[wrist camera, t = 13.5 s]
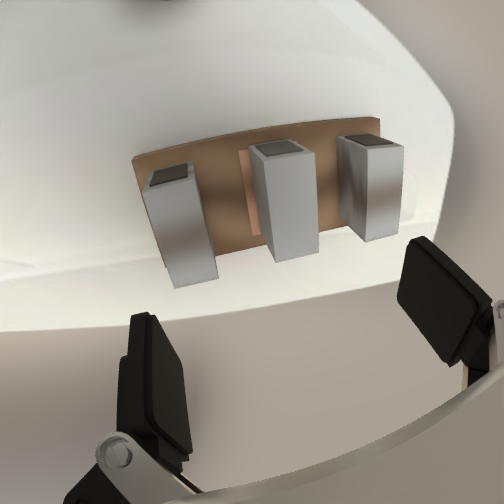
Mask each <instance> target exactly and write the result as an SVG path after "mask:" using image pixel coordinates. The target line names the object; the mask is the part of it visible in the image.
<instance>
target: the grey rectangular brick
mask: <svg viewBox="0 0 504 504" xmlns="http://www.w3.org/2000/svg"><path fill="white" fill-rule="evenodd" d="M248 151H249V158H250V165H251V171H252V178H253V185H254V192H255V199H256V205H257V212H258V219H259V226H260V232H261V234H262V236H263V238H264V240H265V242H266V244H267V246H268V248H269V250H270V252H271V254H272V256H273V258H274V260H275V262H276V263H277V262H281V261H285V260H290V259H294V258H298V257H302V256H306V255H310V254H314V253H318V252H319V234H318V205H317V184H316V167H315V153H314V152H312V151H310V150H308V149H307V148H305V147H303V146H301V145H299V144H298V143H296V142H294V141H292V140H290V139H287V140H280V141H273V142H267V143H261V144H255V145H249V146H248Z"/></svg>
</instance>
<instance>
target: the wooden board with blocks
mask: <svg viewBox="0 0 504 504" xmlns="http://www.w3.org/2000/svg"><path fill="white" fill-rule="evenodd" d="M287 139H290V140H292V141H294V142H296V143H298V144H299V145H301V146H303V147H305V148H307V149H308V150H310V151H312V152H314V153H315V167H316V184H317V205H318V232H322V231H326V230H331V229H335V228H340V227H344V226H349V227H350V228H351V229H352V230H353V231H354V232H355V233H356V234H357V235H358V236H359V237H360V238H361V239H362V240H363V241H364V242H369V241H373V240H376V239H380V238H384V237H388V236H392V235H395V234H398V228H399V218H400V208H401V196H402V182H403V161H404V146H402V145H399V144H397V143H394V142H392V141H389V140H386V139H384V138H381V137H380V119H378V118H374V117H360V118H345V119H332V120H321V121H312V122H303V123H295V124H287V125H280V126H273V127H266V128H260V129H254V130H248V131H242V132H237V133H231V134H226V135H221V136H216V137H211V138H207V139H202V140H197V141H193V142H189V143H185V144H180V145H176V146H172V147H168V148H165V149H161V150H157V151H153V152H150V153H146V154H143V155H139V156H136V157H134V158H133V159H132V164H133V168H134V171H135V175H136V178H137V182H138V185H139V189H140V192H141V195H142V199H143V202H144V205H145V208H146V211H147V214H148V218H149V221H150V224H151V227H152V230H153V233H154V236H155V239H156V242H157V244H158V247H159V250H160V253H161V256H162V259H163V261H164V264H165V267H166V268H167V270H168V273H169V275H170V278H171V281H172V283H173V286H174V289H175V288H180V287H184V286H189V285H193V284H197V283H202V282H206V281H210V280H214V279H219V276H218V271H217V266H216V260H215V256H219V255H223V254H227V253H232V252H236V251H240V250H244V249H249V248H253V247H257V246H262V245H266V242H265V240H264V238H263V236H262V234H261V232H260V226H259V219H258V212H257V205H256V199H255V192H254V185H253V178H252V171H251V165H250V158H249V151H248V146H249V145H255V144H261V143H267V142H273V141H280V140H287Z"/></svg>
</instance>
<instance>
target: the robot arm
mask: <svg viewBox="0 0 504 504" xmlns="http://www.w3.org/2000/svg"><path fill="white" fill-rule="evenodd" d="M397 301H398V303H399V304H400V306H401V307H402V308H403V309H404V311H405V312H406V313H407V314H408V316H409V317H410V318H411V320H412V321H413V322H414V324H415V325H416V326H417V328H419V330H420V332H421V333H422V334H423V335H424V337H425V338H426V339H427V341H428V342H429V343H430V345H431V346H432V348H433V349H434V350H435V352H436V353H437V354H438V356H439V357H440V359H441V360H442V361H443V362H446V363H447V364H448V366H449V367H452V366H453V365H455V364H456V363H458V362H459V361H460V359H461V360H462V362H463V381H462V392H461V393H459V394H458V395H456V396H455V397H453V398H452V399H450V400H449V401H447V402H445V403H444V404H442V405H441V406H439V407H438V408H436V409H434V410H433V411H431V412H429V413H428V414H426V415H424V416H422V417H421V418H419V419H417V420H415V421H413V422H412V423H410V424H408V425H406V426H404V427H402V428H400V429H399V430H397V431H395V432H393V433H391V434H389V435H387V436H385V437H382V438H380V439H378V440H376V441H374V442H372V443H369V444H367V445H365V446H363V447H360V448H358V449H356V450H354V451H351V452H348V453H346V454H343V455H341V456H338V457H336V458H333V459H331V460H328V461H325V462H322V463H319V464H316V465H313V466H310V467H307V468H304V469H301V470H298V471H295V472H291V473H287V474H284V475H280V476H276V477H273V478H269V479H265V480H262V481H257V482H253V483H249V484H245V485H239V486H235V487H229V488H224V489H220V490H214V491H209V492H205V491H203V490H202V489H201V488H200V487H198V486H197V485H195V483H193V482H192V481H191V480H189V479H188V478H187V477H186V476H185V475H183V474H182V473H181V472H182V471H183V469H182V462H185V461H189V455H188V454H191V453H192V452H193V449H192V442H191V435H190V428H189V420H188V412H187V404H186V395H185V386H184V376H183V368H182V364H181V361H180V359H179V357H178V356H177V354H176V352H175V350H174V349H173V347H172V345H171V343H170V341H169V340H168V338H167V336H166V334H165V332H164V330H163V329H162V327H161V325H160V323H159V321H158V319H157V317H156V316H155V315H150V314H149V312H143V313H139V314H135V315H132V316H131V320H130V329H129V340H128V341H129V342H128V353H127V356H123V357H122V358H121V359H120V365H119V378H118V395H117V396H118V397H117V431H116V432H112V433H108V434H107V435H105V436H104V437H102V438H101V440H100V441H99V442H98V444H97V447H96V451H95V457H96V462H97V463H96V464H95V465H94V466H93V468H92V469H91V470H90V471H89V472H88V473H87V474H86V475H85V476H84V477H83V478H82V479H81V480H80V481H79V482H78V483H77V484H76V485H75V487H74V488H73V489H72V490H71V491H70V492H69V493H68V494H67V495H66V497H65V498H64V502H63V504H504V300H499V301H497V302H496V303H495V304H494V306H493V307H492V306H491V303H492V299H491V298H490V297H489V296H488V295H487V294H486V293H485V292H484V290H482V289H481V287H479V285H478V284H477V283H475V281H473V280H472V279H471V278H470V277H469V276H468V275H467V274H466V273H465V272H464V271H463V270H462V269H461V268H460V267H459V266H458V265H457V264H456V263H454V262H453V261H452V260H451V259H450V258H449V257H448V256H447V255H446V254H445V253H444V252H442V251H441V250H440V249H439V248H438V247H437V246H436V245H435V244H433V243H432V242H431V241H430V240H429V239H428V238H426V237H425V236H420V237H417V238H414V239H411V240H410V241H409V244H408V245H407V248H406V253H405V259H404V264H403V269H402V274H401V279H400V283H399V288H398V292H397Z"/></svg>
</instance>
